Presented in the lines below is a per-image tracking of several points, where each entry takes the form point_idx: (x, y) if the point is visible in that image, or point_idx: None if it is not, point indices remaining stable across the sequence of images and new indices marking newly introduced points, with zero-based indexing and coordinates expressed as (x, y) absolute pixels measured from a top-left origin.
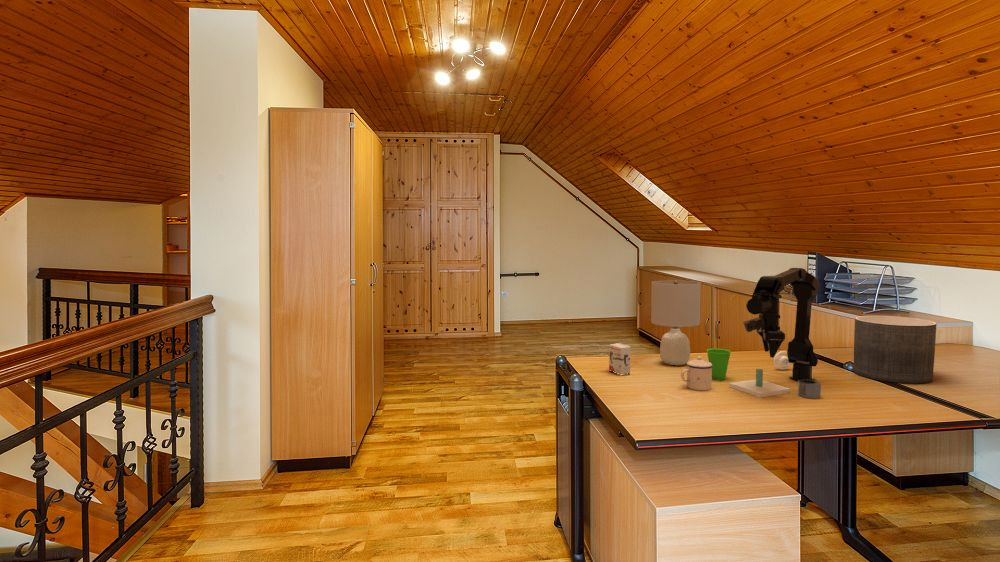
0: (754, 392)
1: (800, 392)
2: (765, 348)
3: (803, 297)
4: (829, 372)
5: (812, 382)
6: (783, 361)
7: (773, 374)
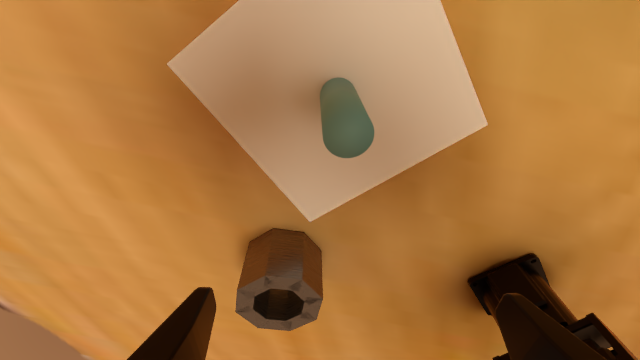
0: (197, 37)
1: (266, 242)
2: (525, 330)
3: None
4: None
5: (297, 309)
6: None
7: (614, 215)
